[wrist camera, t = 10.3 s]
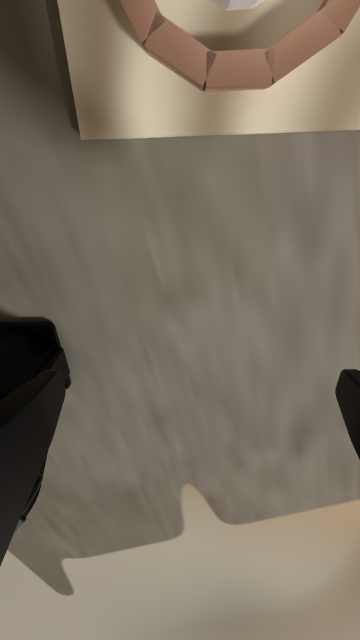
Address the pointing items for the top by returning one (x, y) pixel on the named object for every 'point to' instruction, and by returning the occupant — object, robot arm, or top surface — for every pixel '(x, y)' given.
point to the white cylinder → (235, 4)
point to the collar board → (212, 67)
